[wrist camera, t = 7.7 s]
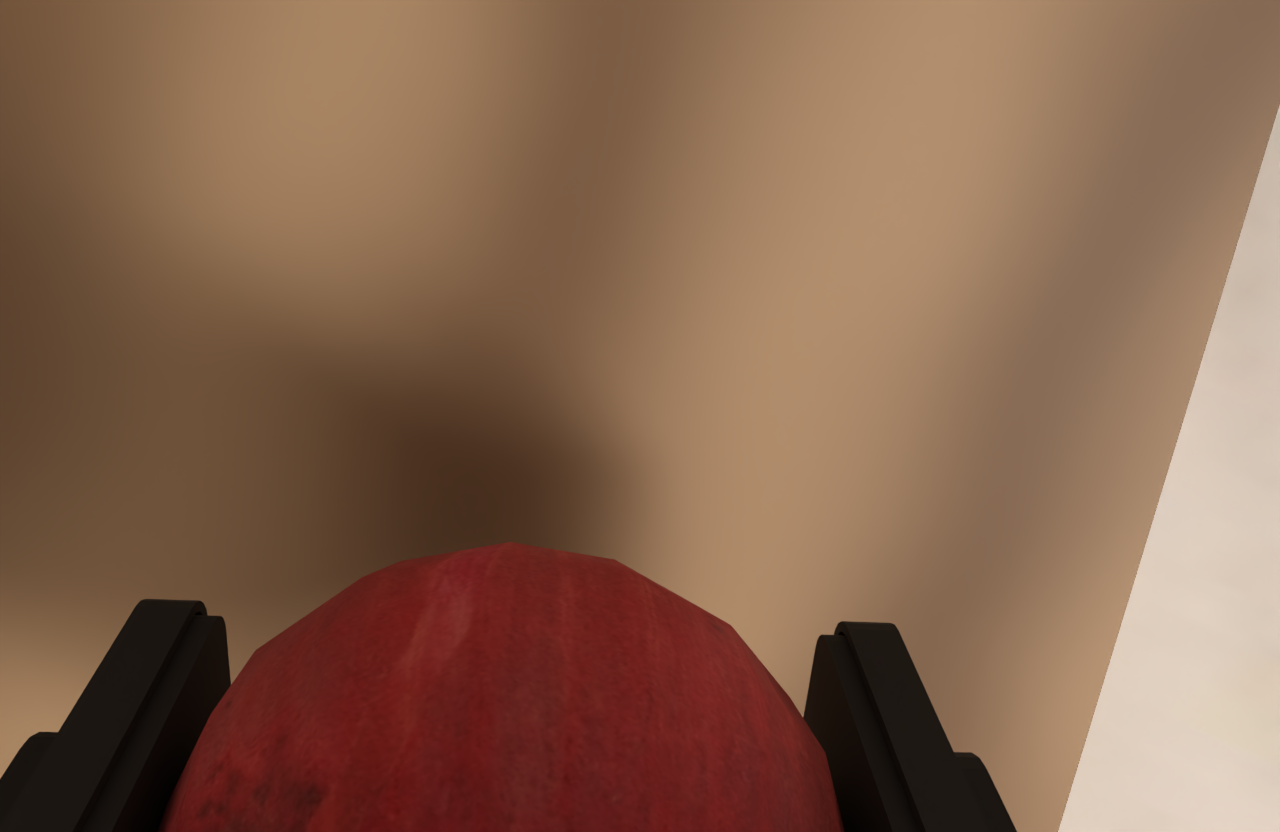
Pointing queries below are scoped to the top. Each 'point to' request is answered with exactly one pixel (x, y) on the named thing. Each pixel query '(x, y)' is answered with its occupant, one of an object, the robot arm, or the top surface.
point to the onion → (505, 712)
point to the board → (619, 317)
